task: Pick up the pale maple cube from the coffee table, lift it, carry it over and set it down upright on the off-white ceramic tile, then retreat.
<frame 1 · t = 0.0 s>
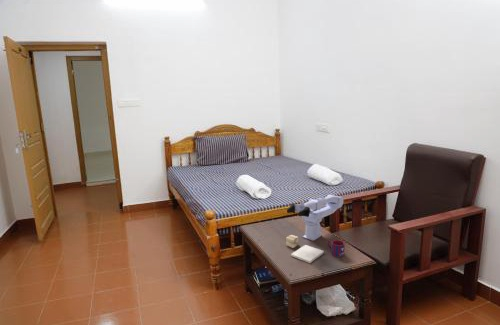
hand: (293, 212, 187), 22 cm above the table, tool horizontal, fingers open, 7 cm apart
maple cube: (292, 245, 196), on the table
mug: (335, 253, 185), on the table
ceramic tile: (307, 254, 184), on the table
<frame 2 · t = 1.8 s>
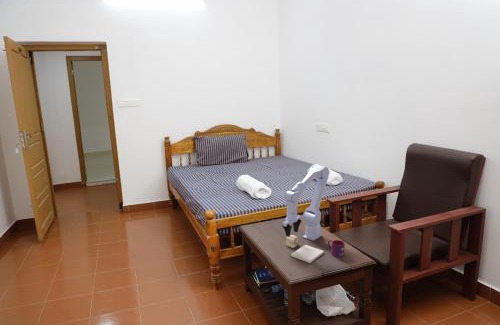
hand: (292, 234, 194), 7 cm above the table, tool pointing down, fingers open, 7 cm apart
nothing on the table moved.
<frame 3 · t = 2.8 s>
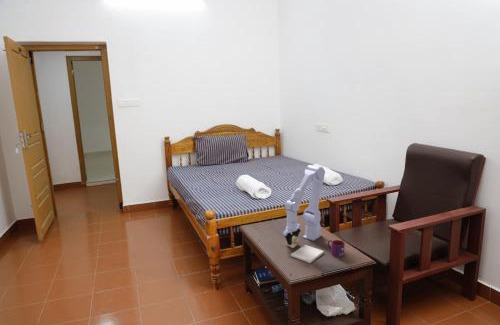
hand: (292, 242, 195), 1 cm above the table, tool pointing down, fingers closed on maple cube, 5 cm apart
maple cube: (292, 245, 196), on the table, touching gripper
everything else where it was.
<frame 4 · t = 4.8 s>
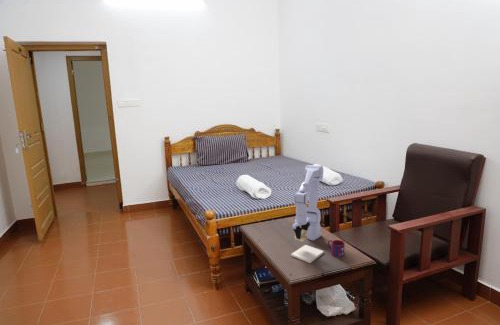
hand: (301, 236, 187), 8 cm above the table, tool pointing down, fingers closed on maple cube, 5 cm apart
maple cube: (300, 239, 187), point 7 cm above the table, touching gripper
everything else where it was.
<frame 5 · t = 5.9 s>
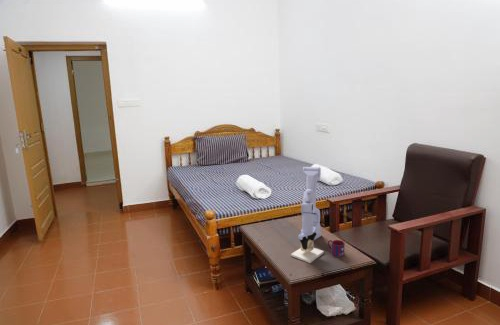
hand: (307, 247, 183), 4 cm above the table, tool pointing down, fingers closed on maple cube, 5 cm apart
maple cube: (307, 249, 184), point 3 cm above the table, touching gripper
everything else where it was.
when the fingers open (4 cm above the table, at t = 6.9 s): maple cube drops 1 cm, resting on ceramic tile.
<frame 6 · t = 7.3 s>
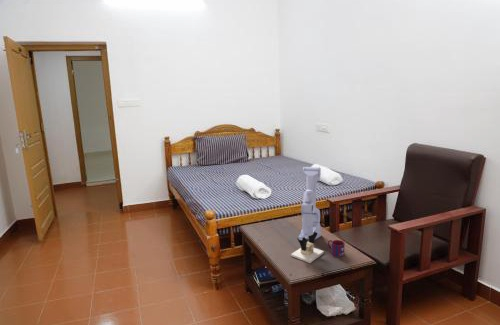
hand: (307, 247, 183), 4 cm above the table, tool pointing down, fingers open, 7 cm apart
maple cube: (307, 252, 184), point 1 cm above the table, touching ceramic tile
everything else where it was.
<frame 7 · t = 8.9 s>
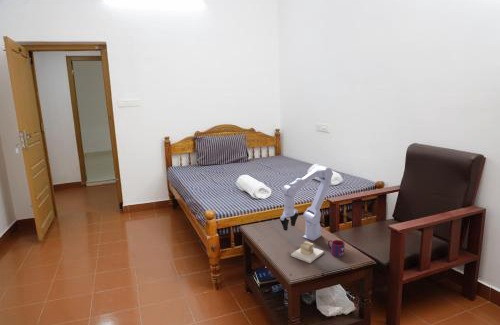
hand: (289, 228, 196), 9 cm above the table, tool pointing down, fingers open, 7 cm apart
nothing on the table moved.
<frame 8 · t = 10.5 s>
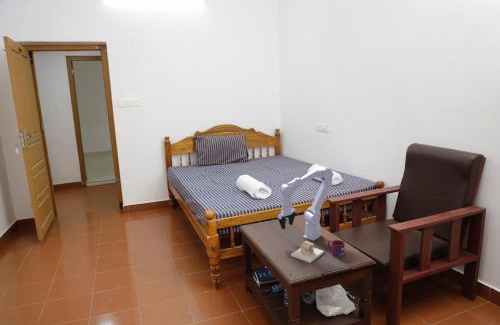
hand: (287, 226, 198), 9 cm above the table, tool pointing down, fingers open, 7 cm apart
nothing on the table moved.
at the end: maple cube inside the target area on the ceramic tile (0.3 cm from its centre), point 1.2 cm above the ceramic tile's base; maple cube tilted 0°; the gripper is holding nothing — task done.
